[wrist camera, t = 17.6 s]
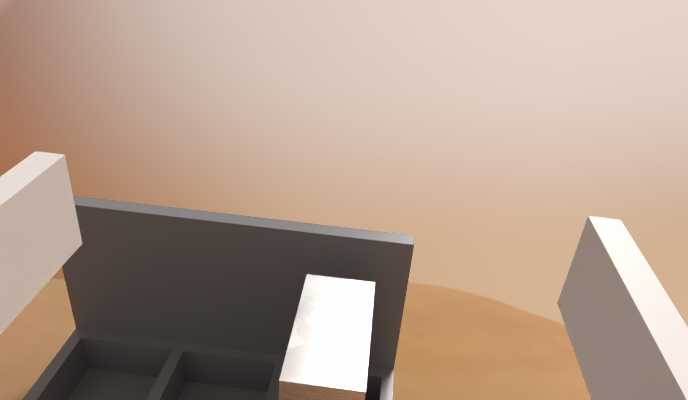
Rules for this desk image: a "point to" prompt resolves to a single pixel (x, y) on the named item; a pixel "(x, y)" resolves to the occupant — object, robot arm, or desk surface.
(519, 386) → the desk surface
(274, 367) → the rack
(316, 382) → the brushed metal block
